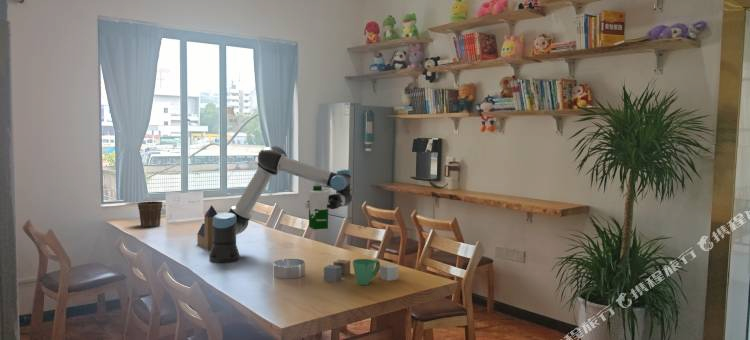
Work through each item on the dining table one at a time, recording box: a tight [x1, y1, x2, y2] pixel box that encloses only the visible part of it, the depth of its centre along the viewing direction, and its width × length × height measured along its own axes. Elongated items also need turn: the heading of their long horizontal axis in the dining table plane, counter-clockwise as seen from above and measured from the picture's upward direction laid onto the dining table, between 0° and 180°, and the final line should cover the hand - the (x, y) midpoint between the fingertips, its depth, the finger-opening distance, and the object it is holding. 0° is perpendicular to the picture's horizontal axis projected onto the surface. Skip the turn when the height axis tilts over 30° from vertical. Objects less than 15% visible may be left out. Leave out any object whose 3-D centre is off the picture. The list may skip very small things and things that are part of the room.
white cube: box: [379, 263, 399, 282], centre depth 248 cm, size 6×6×6 cm
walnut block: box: [332, 259, 351, 277], centre depth 255 cm, size 6×6×6 cm
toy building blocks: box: [196, 204, 218, 252], centre depth 308 cm, size 12×19×25 cm, turn 35°
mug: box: [352, 258, 381, 286], centre depth 241 cm, size 15×10×10 cm
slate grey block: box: [323, 264, 343, 283], centre depth 245 cm, size 6×6×6 cm
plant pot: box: [137, 200, 164, 228], centre depth 369 cm, size 16×16×16 cm
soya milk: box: [308, 185, 330, 230], centre depth 258 cm, size 9×9×20 cm
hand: (314, 206), depth 253 cm, fingers closed on soya milk, 8 cm apart
